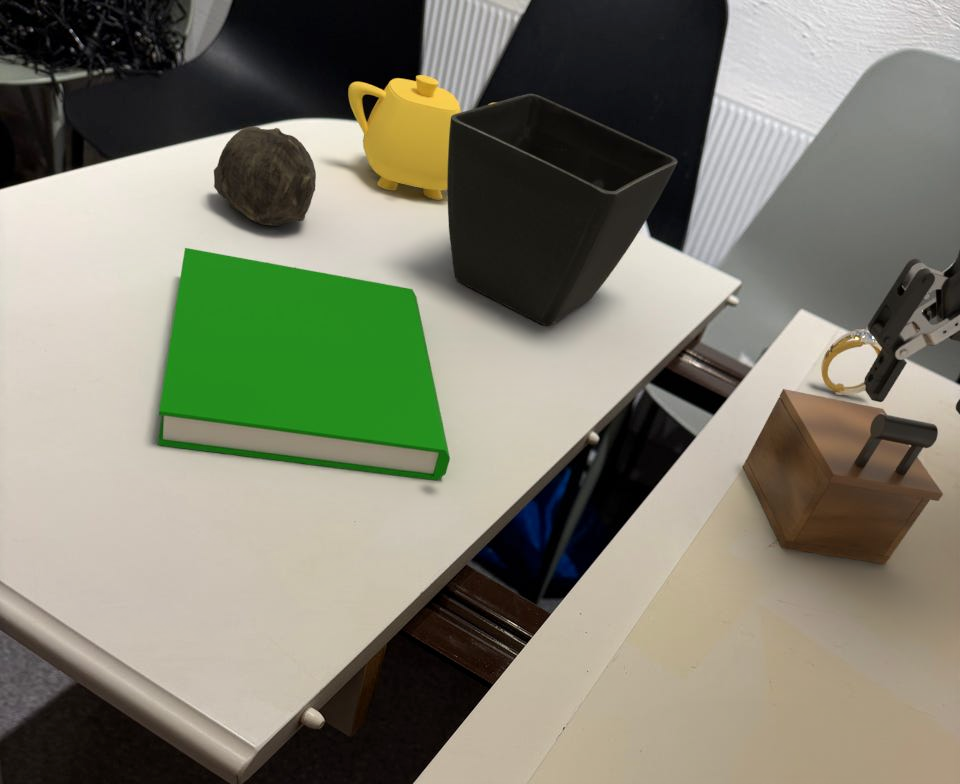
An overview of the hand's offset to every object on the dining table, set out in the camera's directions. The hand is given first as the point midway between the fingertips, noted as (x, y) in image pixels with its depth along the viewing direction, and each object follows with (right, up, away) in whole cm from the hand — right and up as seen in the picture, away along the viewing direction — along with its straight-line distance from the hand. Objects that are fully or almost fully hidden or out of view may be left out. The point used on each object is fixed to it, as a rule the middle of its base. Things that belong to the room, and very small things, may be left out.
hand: (918, 405), depth 78 cm
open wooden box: (-4, -7, +13) cm, 16 cm away
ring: (+6, +10, +35) cm, 37 cm away
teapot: (-44, +41, +49) cm, 77 cm away
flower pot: (-30, +21, +33) cm, 50 cm away
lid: (-2, -2, +8) cm, 8 cm away
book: (-51, +5, +9) cm, 52 cm away
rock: (-60, +28, +30) cm, 72 cm away
